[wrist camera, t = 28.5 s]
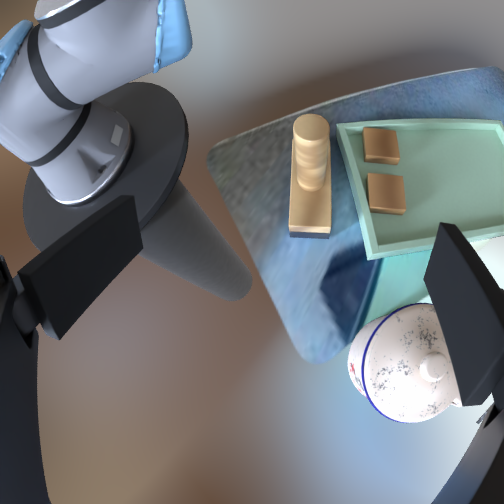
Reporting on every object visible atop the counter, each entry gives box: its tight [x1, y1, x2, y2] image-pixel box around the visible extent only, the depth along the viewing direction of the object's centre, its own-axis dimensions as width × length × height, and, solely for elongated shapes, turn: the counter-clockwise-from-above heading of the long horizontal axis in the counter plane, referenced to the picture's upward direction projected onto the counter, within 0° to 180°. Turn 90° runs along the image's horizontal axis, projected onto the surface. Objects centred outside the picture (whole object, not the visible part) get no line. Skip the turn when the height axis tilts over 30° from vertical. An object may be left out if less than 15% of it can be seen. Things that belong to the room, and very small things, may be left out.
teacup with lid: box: [348, 303, 462, 423], centre depth 21 cm, size 12×9×12 cm
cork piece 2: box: [366, 173, 406, 215], centre depth 30 cm, size 4×4×2 cm
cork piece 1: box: [362, 127, 400, 165], centre depth 31 cm, size 4×4×2 cm
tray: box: [336, 118, 504, 260], centre depth 30 cm, size 26×16×2 cm, turn 97°
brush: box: [289, 114, 332, 239], centre depth 27 cm, size 4×10×12 cm, turn 175°
